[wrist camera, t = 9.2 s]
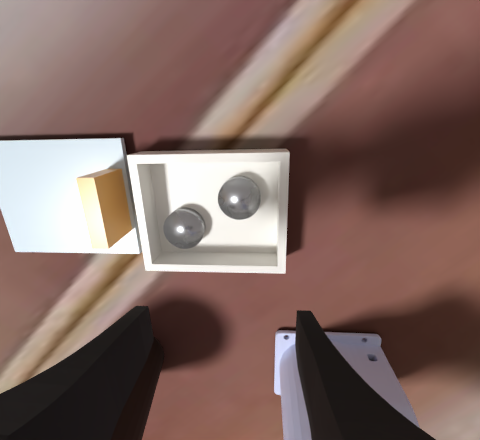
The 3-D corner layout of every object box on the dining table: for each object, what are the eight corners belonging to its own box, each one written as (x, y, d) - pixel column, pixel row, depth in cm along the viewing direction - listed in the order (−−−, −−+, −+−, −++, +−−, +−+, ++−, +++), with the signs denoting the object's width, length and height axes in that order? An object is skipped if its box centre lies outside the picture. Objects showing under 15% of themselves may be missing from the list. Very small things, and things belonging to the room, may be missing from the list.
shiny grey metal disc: (265, 180, 20) (265, 183, 20) (255, 219, 22) (255, 223, 21) (223, 171, 20) (222, 173, 20) (216, 210, 22) (214, 214, 21)
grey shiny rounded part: (180, 199, 22) (177, 202, 21) (213, 222, 22) (211, 227, 21) (160, 228, 22) (155, 233, 22) (191, 250, 23) (189, 256, 22)
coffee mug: (160, 312, 26) (102, 419, 17) (184, 378, 29) (146, 502, 19) (54, 326, 28) (-52, 430, 18) (87, 387, 31) (9, 505, 21)
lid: (128, 137, 21) (91, 141, 16) (145, 247, 24) (118, 276, 20) (-7, 140, 22) (-78, 144, 17) (27, 245, 25) (-26, 272, 20)
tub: (286, 148, 20) (289, 152, 18) (282, 257, 23) (285, 273, 21) (142, 151, 21) (126, 155, 18) (157, 255, 24) (145, 270, 21)
